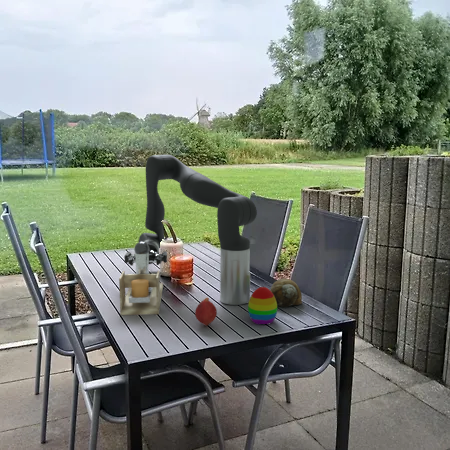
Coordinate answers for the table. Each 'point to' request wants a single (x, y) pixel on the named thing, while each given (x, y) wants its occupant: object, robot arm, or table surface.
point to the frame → (142, 307)
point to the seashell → (286, 292)
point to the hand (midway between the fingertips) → (144, 262)
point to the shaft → (141, 269)
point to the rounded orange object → (140, 287)
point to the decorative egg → (262, 306)
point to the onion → (206, 312)
